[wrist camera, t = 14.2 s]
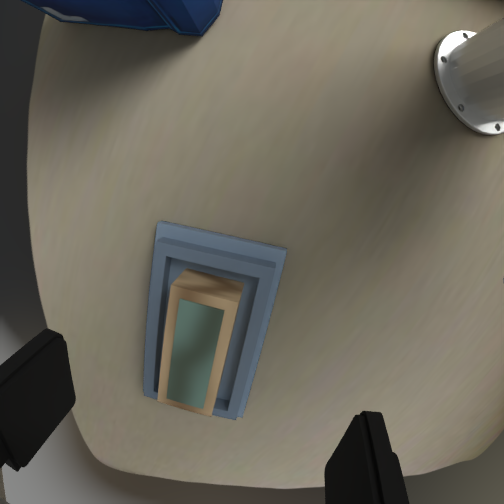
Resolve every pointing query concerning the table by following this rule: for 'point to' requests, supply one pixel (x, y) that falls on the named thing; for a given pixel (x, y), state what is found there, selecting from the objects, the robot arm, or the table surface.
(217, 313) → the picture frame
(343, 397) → the table surface
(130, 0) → the book
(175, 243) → the blue tray
